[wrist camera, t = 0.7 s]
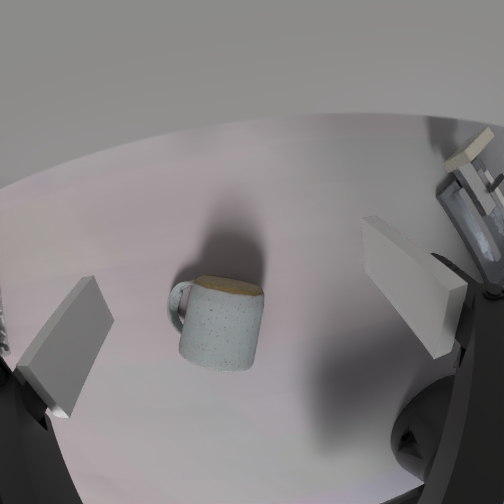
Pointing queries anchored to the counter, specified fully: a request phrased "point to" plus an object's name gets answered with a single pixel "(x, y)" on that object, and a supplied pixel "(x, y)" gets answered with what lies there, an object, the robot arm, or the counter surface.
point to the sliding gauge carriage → (474, 172)
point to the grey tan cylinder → (218, 322)
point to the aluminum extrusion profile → (3, 333)
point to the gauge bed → (478, 225)
